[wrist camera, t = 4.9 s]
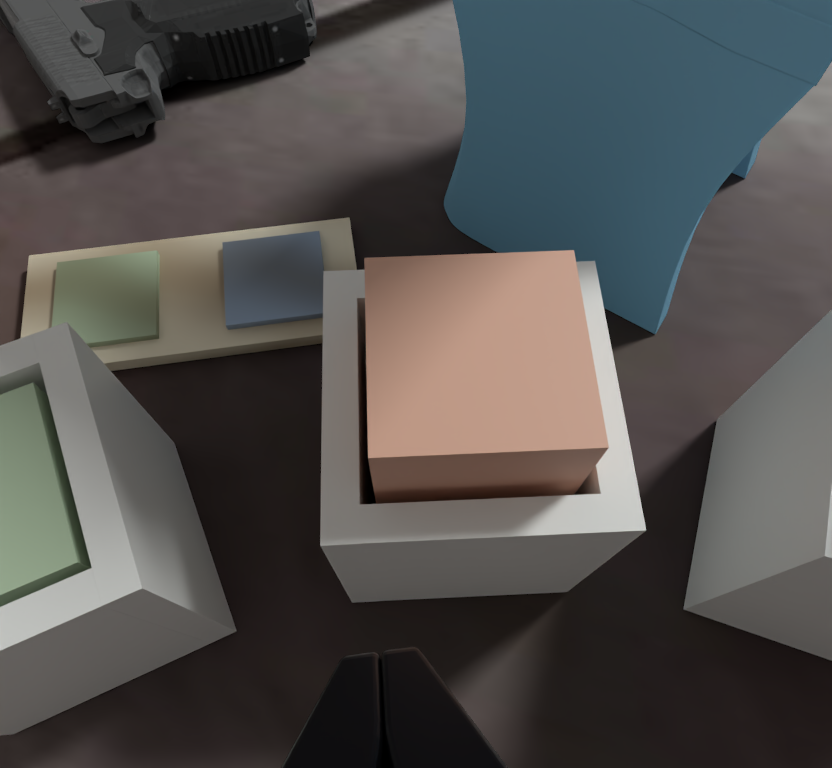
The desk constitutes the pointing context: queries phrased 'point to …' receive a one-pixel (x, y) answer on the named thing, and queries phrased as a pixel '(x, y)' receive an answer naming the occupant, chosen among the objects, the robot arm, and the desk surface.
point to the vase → (621, 125)
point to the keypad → (406, 515)
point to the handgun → (149, 51)
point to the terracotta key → (479, 377)
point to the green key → (35, 499)
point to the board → (191, 293)
